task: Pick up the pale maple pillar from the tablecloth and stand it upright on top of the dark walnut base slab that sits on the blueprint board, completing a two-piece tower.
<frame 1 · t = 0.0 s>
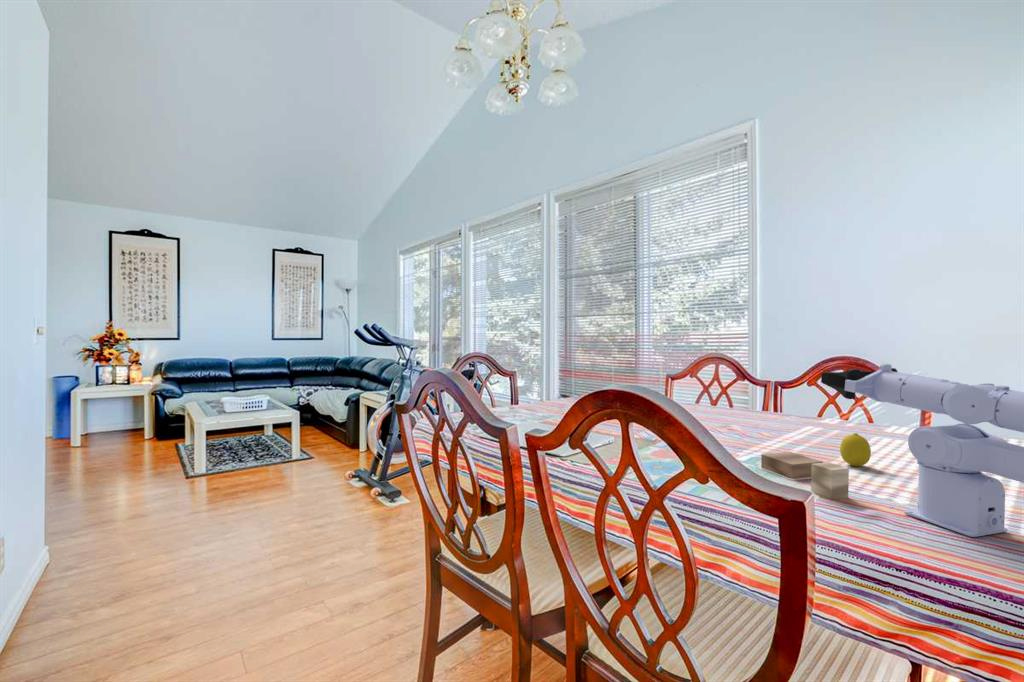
hand: (837, 377, 91), 22 cm above the table, tool horizontal, fingers open, 7 cm apart
walnut slab: (791, 471, 97), point 1 cm above the table, touching blueprint board
blueprint board: (798, 475, 97), on the table
maple pillar: (829, 498, 83), on the table
lemon: (855, 469, 102), on the table
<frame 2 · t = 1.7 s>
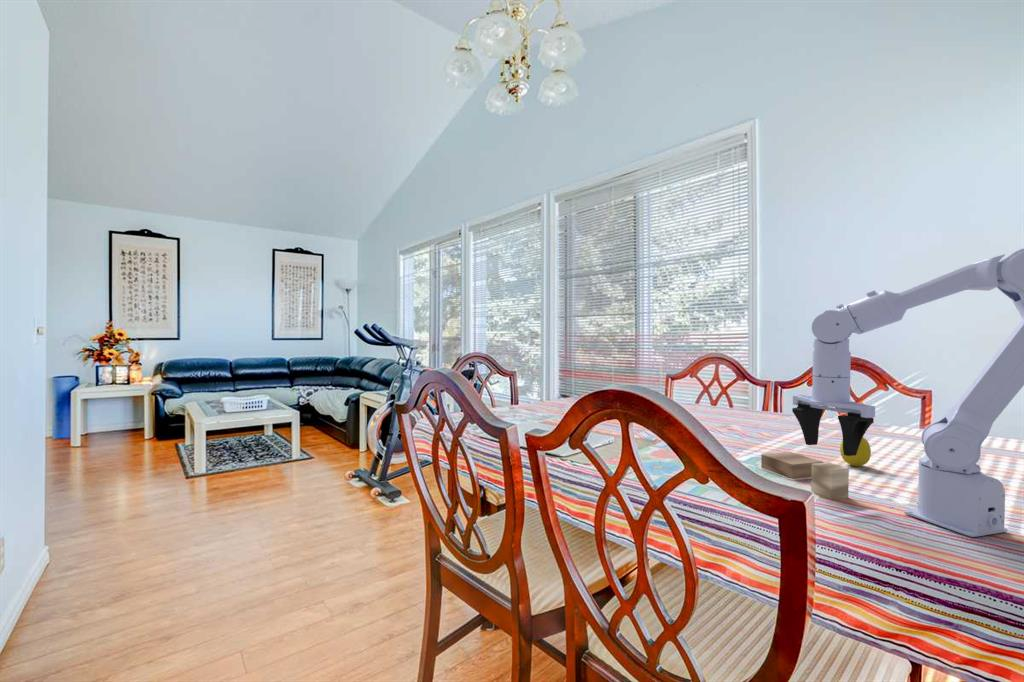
hand: (829, 449, 83), 9 cm above the table, tool pointing down, fingers open, 7 cm apart
nothing on the table moved.
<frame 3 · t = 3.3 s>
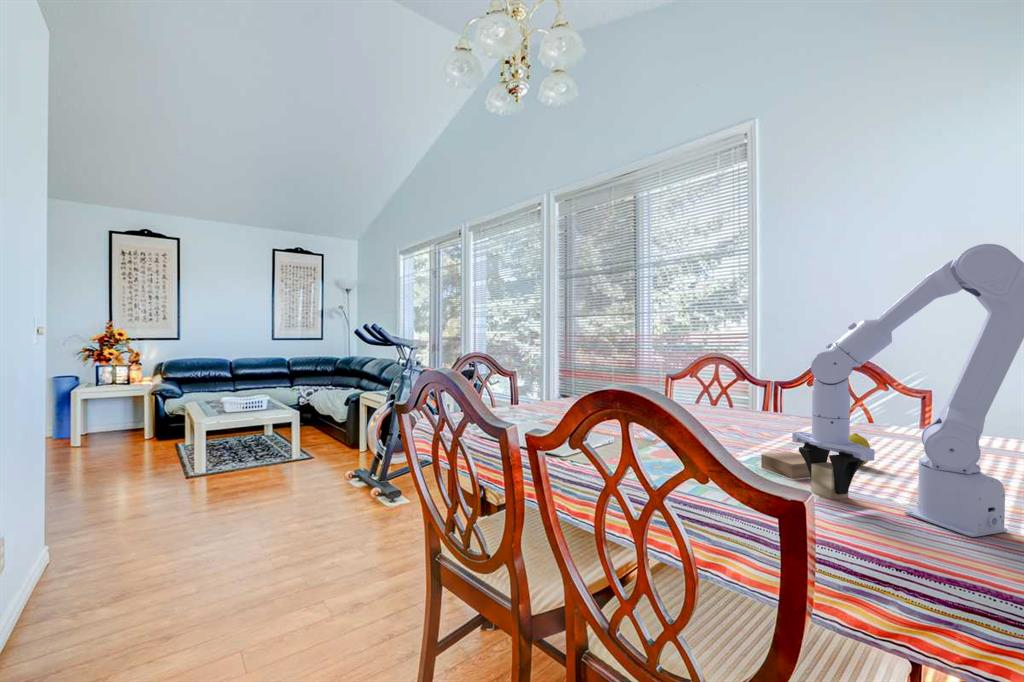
hand: (829, 489, 83), 2 cm above the table, tool pointing down, fingers closed on maple pillar, 4 cm apart
maple pillar: (829, 497, 83), on the table, touching gripper
everything else where it was.
when the fingers open (6 cm above the table, at t = 6.8 s): maple pillar drops 1 cm, resting on walnut slab.
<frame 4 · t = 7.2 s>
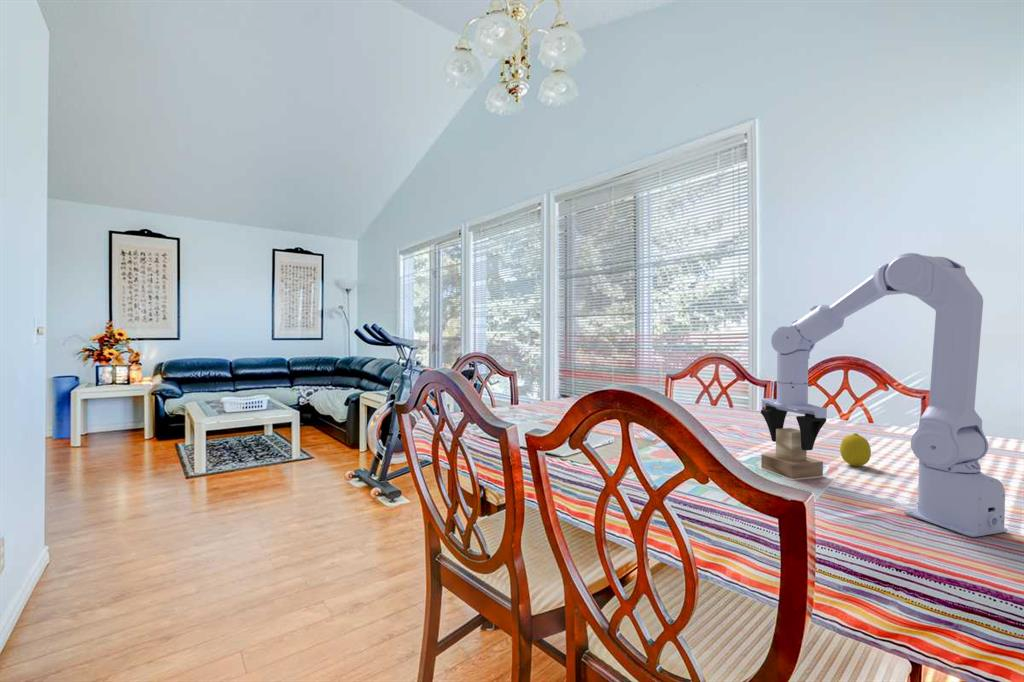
hand: (791, 445, 97), 6 cm above the table, tool pointing down, fingers open, 7 cm apart
walnut slab: (791, 471, 97), point 1 cm above the table, touching blueprint board, maple pillar
maple pillar: (790, 457, 97), point 4 cm above the table, touching walnut slab
everything else where it was.
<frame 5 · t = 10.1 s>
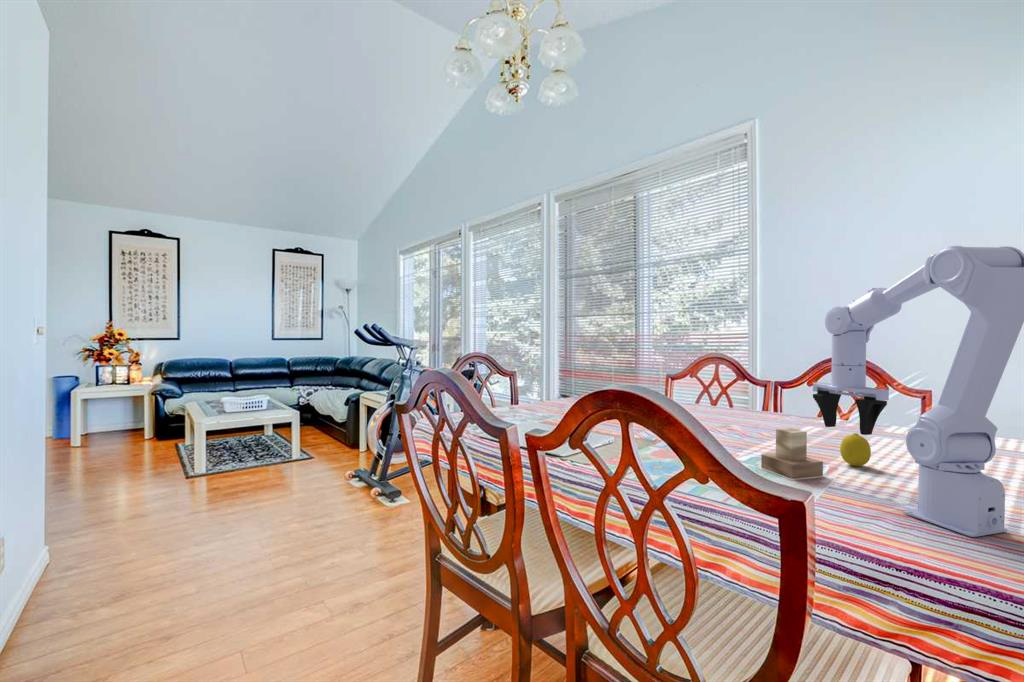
hand: (847, 430, 93), 10 cm above the table, tool pointing down, fingers open, 7 cm apart
nothing on the table moved.
at the end: maple pillar 0.1 cm off-centre on the walnut slab, point 3.0 cm above the walnut slab's base; maple pillar tilted 0°; walnut slab moved 0.0 cm from its start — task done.
